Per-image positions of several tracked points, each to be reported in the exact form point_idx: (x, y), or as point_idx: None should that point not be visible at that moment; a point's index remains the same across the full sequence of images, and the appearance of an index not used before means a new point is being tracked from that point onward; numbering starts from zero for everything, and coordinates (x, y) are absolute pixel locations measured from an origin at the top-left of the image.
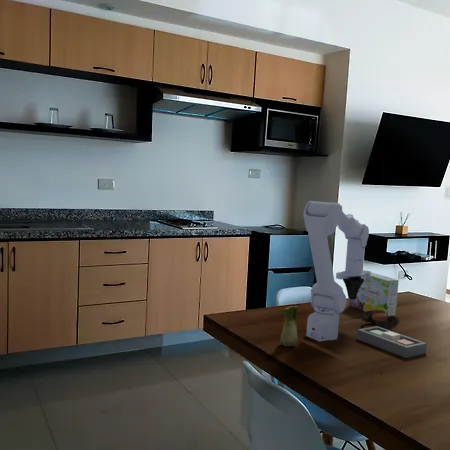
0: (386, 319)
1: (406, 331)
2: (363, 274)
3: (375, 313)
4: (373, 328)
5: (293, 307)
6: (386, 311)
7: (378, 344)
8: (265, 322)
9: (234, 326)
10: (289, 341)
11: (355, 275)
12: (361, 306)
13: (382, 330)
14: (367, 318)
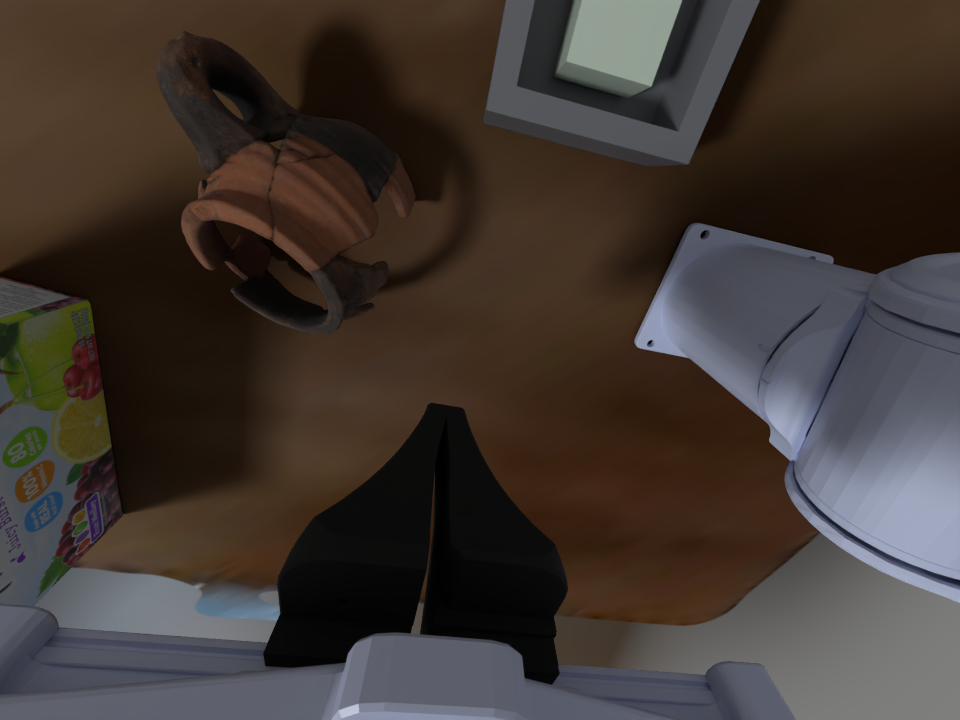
0: (81, 298)
1: (128, 57)
2: (418, 700)
3: (320, 233)
4: (562, 99)
5: None
6: (31, 318)
7: None
8: (651, 532)
9: (765, 548)
10: None
11: (563, 704)
12: (98, 470)
13: (529, 24)
14: (385, 265)
